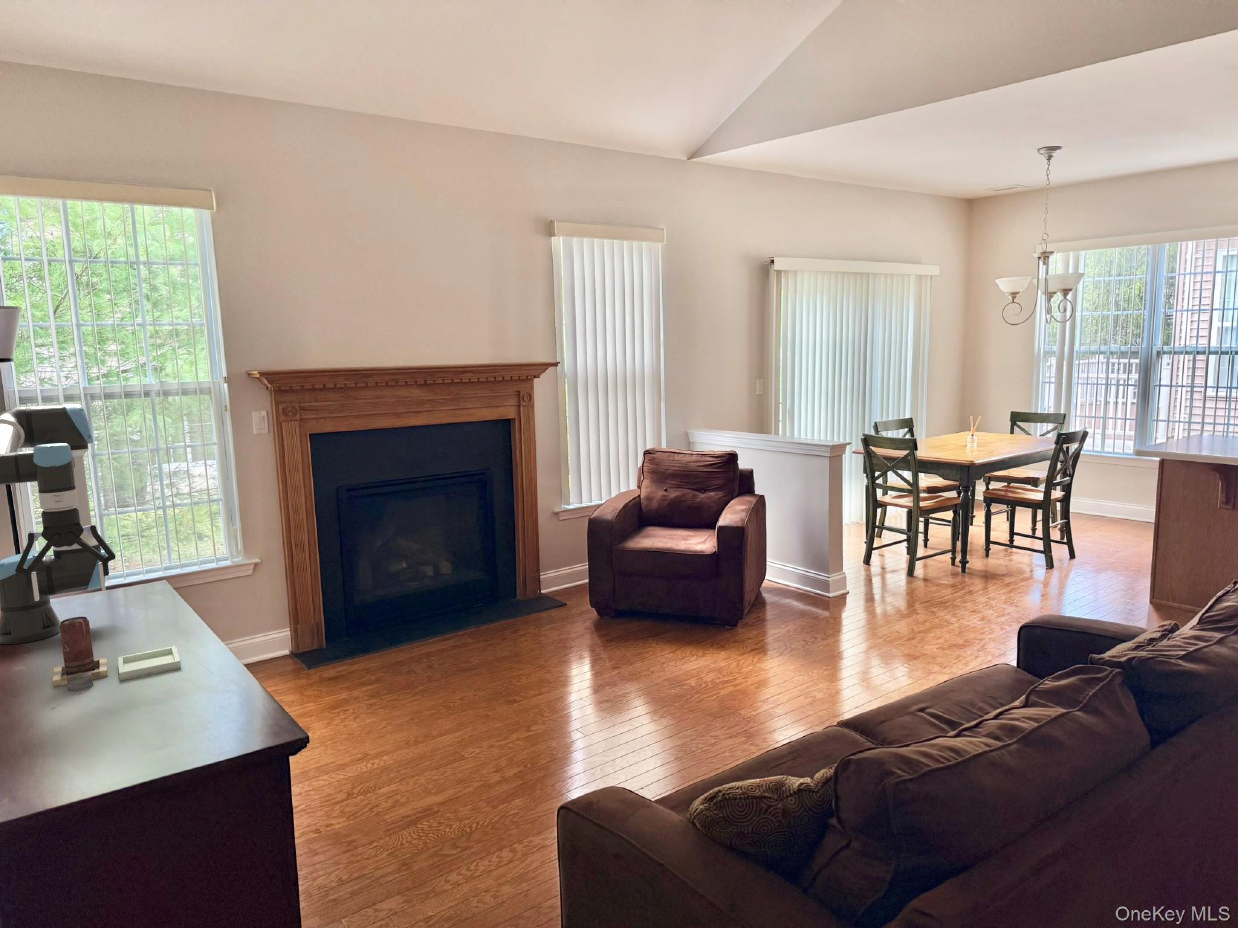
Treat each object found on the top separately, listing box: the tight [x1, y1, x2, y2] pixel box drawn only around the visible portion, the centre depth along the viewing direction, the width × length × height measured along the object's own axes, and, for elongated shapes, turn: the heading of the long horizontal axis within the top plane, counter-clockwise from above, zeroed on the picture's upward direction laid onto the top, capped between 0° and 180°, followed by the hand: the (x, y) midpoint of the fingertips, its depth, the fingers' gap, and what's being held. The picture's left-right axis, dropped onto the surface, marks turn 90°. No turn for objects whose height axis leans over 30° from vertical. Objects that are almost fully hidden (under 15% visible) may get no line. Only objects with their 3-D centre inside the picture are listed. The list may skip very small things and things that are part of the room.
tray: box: [117, 645, 182, 681], centre depth 210 cm, size 13×13×2 cm
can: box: [59, 616, 96, 676], centre depth 205 cm, size 6×6×14 cm
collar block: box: [52, 656, 109, 692], centre depth 203 cm, size 18×11×3 cm, turn 32°
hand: (71, 594), depth 203 cm, fingers open, 13 cm apart
